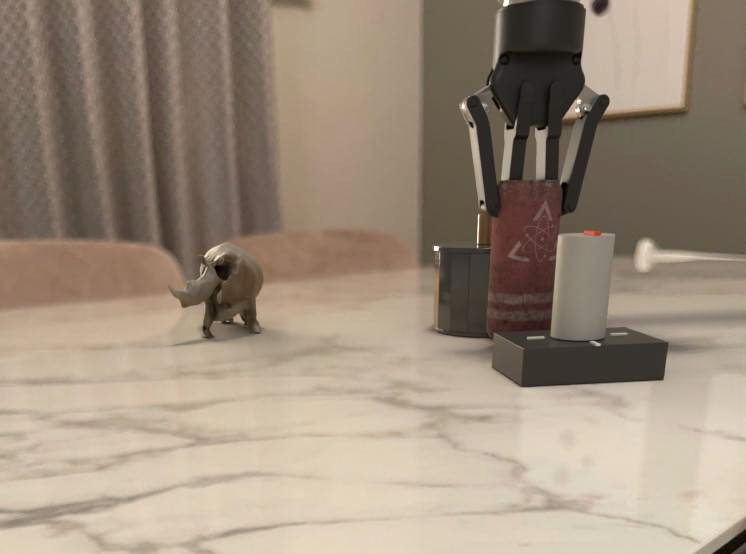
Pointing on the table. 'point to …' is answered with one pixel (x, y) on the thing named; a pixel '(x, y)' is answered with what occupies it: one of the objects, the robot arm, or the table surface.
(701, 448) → the table surface
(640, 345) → the block
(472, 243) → the pot lid
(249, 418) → the table surface
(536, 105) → the robot arm
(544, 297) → the can
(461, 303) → the pot
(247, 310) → the rhinoceros figurine
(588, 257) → the knob
